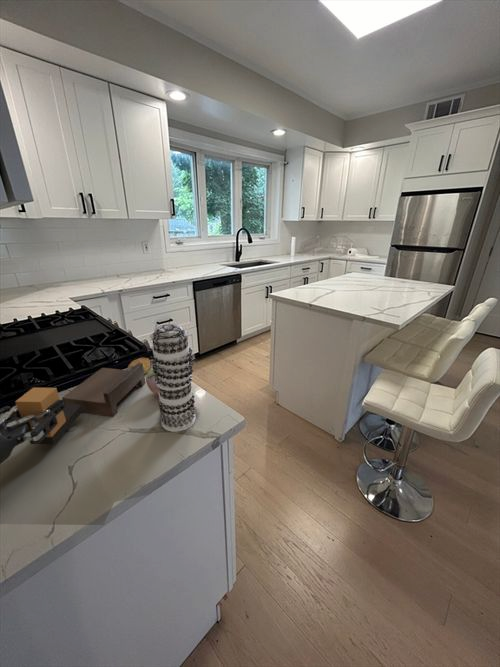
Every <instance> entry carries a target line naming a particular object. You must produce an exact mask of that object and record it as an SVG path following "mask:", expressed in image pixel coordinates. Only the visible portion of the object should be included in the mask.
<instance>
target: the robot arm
mask: <svg viewBox="0 0 500 667" xmlns="http://www.w3.org/2000/svg"><path fill="white" fill-rule="evenodd" d="M64 409H65V403H64V400H62V398H59V400H58V401H56V402H55V403H54V404H52V405H51V406H50V407H48V408H47V409H46V410H45V411H42V412H40V413H38V414H31V415H29V416H26V417H24V418H21V416H20V413H19V411H18V408H17V405H16V404H15V405H14V406H12V407H10V405H6V406H3V407H1V408H0V416H1V415H2V414H3V415H2V416H1V417H0V465H1V464H3V463H4V462H6V460H7V459H9V458H10V456H11V454H12V452H13V450H14V448H15V447H17V446H19V445H21V444H23V443H25V442H26V441H29V440H33V442H34V444H33V445H39V444H38V443H40V442H41V441H42V440H43V439H44V438H45V437H46V436H47V435H48V434H49V433H50V432H51V431H52V430H53V428H54V427H55V426H56V425H57V424H58V421H57V418H56V415H57V414H59V413H60V412H61V411H62V410H64ZM42 417H44V419H43V420H42V421H40V422H39V421H38V420H39V419H40V418H42ZM31 420H32V423H33V427H32V428H31V425H30V423H29V421H31ZM49 423H50V424H49Z"/></svg>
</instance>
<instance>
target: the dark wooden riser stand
mask: <svg viewBox="0 0 500 667" xmlns="http://www.w3.org/2000/svg"><path fill="white" fill-rule="evenodd" d="M145 385H146V375H145V374H144V370H143V364H142V363H138V364H137V365H135V366H134V367H133V368H132V369H131V370H130V371H129V370H128V369H120V368H119V369H118V368H111V367H110V368H109V367H101V368H100V369H98V370H96V372H94V373H93V374H92V375H90V376H89V377H88V378H86V379H85V380H84V381H83V382H81V383H79V384H78V385H77V386H75V387H74V388H73V389H72V390H70V391H69V392H68V393H66V394H65V395H64V396H62V397H61V400H64V403H65V405H81V406H82V410H83V412H82V413H81V414H90V415H97V416H104V417H111V418H114V416H116V415H117V414H118V413H119V410H118V406H117V405H118V403H119V402H120V401H122V399H123V398H125V396H126V395H127V394H128V393H129V392H130V391H131V390H132V389H133V388H134V387H140V388H141V387H142V388H143V387H144V386H145Z"/></svg>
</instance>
